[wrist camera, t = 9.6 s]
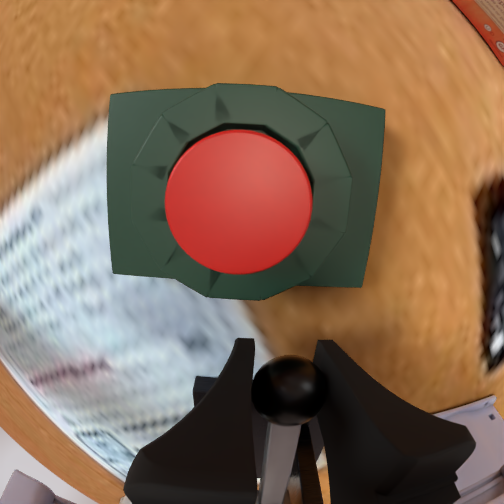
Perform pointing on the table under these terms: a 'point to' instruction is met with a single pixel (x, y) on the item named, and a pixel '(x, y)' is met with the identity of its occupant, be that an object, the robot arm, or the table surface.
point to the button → (238, 202)
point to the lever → (284, 417)
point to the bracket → (307, 453)
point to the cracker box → (487, 21)
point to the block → (259, 120)
